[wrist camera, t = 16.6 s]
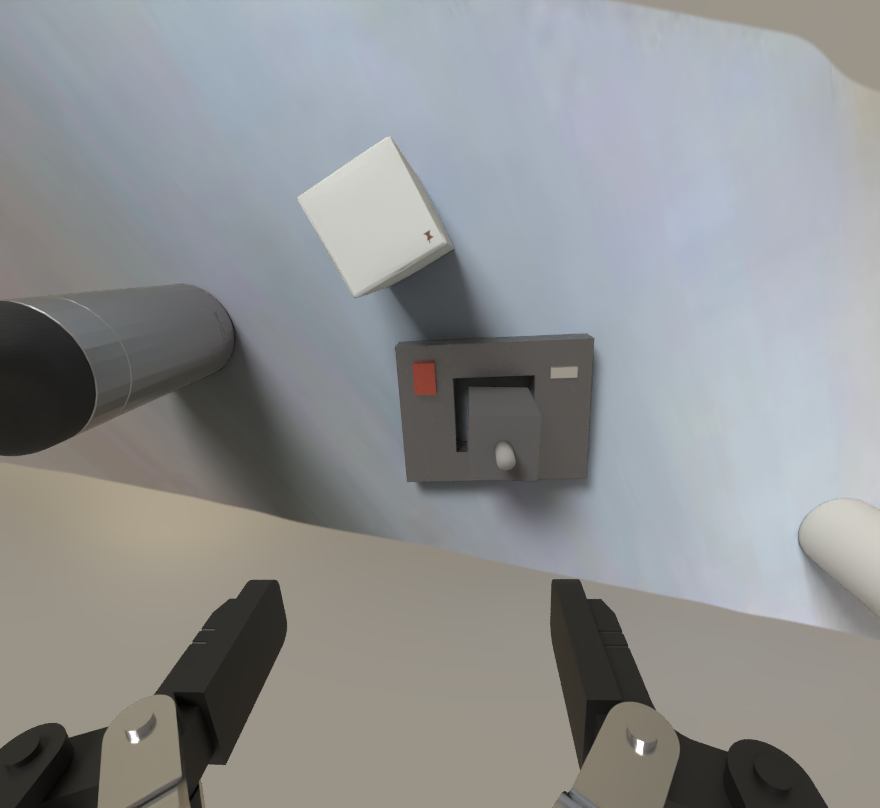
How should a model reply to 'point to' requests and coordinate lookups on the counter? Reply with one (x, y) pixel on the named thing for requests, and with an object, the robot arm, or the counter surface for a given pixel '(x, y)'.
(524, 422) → the plug
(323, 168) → the counter surface
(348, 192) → the supplement box
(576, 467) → the socket
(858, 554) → the pill bottle
